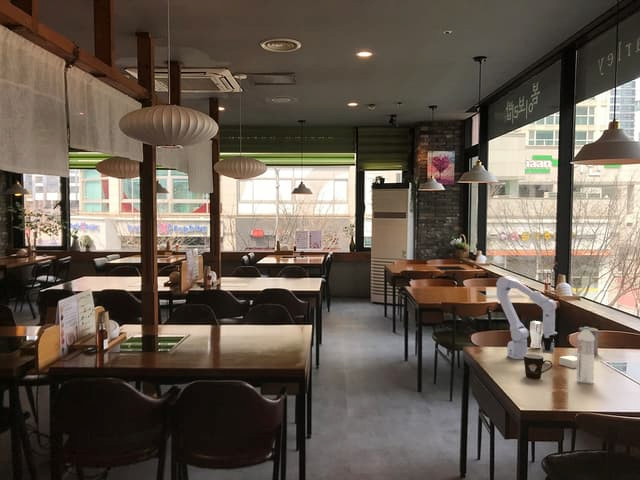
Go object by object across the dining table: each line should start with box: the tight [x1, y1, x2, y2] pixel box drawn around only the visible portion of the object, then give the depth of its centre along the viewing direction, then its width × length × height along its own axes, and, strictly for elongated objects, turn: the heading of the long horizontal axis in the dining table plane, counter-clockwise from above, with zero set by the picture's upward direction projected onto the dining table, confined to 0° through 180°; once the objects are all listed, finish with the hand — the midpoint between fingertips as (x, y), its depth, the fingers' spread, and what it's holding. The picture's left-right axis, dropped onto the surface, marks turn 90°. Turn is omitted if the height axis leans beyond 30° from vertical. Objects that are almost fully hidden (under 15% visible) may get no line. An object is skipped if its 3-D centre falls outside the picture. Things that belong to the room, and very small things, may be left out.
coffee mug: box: [523, 353, 553, 381], centre depth 239 cm, size 12×9×10 cm
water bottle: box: [576, 326, 595, 385], centre depth 234 cm, size 7×7×25 cm
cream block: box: [558, 355, 577, 369], centre depth 263 cm, size 8×8×4 cm
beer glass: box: [529, 320, 543, 349], centre depth 302 cm, size 7×7×15 cm
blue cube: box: [541, 341, 555, 355], centre depth 268 cm, size 5×5×5 cm
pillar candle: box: [578, 326, 599, 356], centre depth 289 cm, size 10×10×15 cm
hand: (548, 349), depth 268 cm, fingers closed on blue cube, 5 cm apart
